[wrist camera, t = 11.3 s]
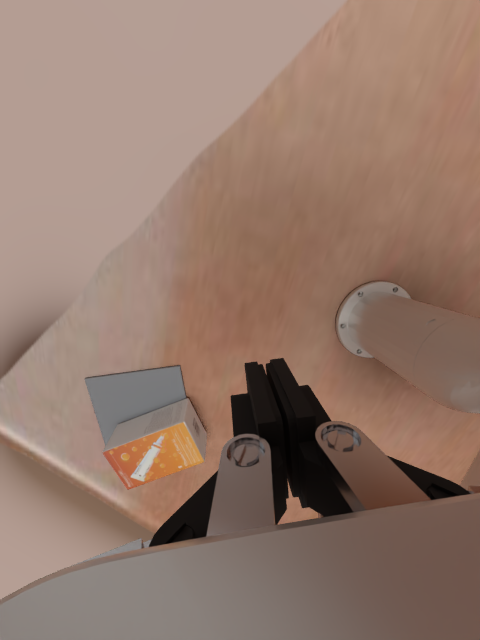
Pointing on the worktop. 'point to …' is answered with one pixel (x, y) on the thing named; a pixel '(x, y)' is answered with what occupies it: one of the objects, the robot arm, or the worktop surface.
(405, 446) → the worktop surface
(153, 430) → the small box
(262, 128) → the worktop surface
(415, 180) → the worktop surface
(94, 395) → the mat
